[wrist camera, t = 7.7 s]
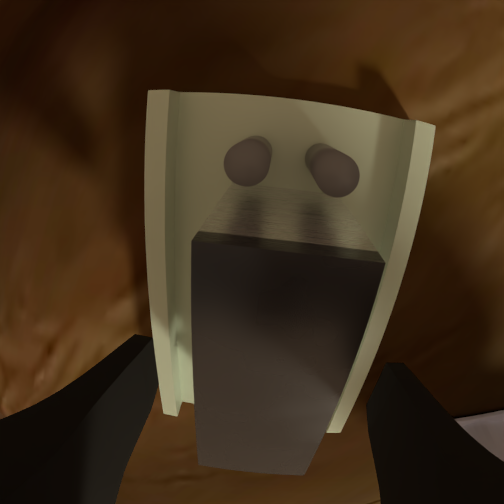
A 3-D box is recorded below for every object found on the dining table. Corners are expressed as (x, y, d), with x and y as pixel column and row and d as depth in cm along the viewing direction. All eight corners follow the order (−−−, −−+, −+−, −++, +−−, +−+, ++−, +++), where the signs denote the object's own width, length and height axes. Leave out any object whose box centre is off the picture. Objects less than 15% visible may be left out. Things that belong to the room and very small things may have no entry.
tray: (412, 123, 11) (469, 130, 7) (336, 404, 18) (343, 465, 14) (168, 93, 12) (117, 85, 7) (173, 387, 18) (152, 444, 14)
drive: (337, 195, 12) (385, 263, 6) (300, 372, 15) (304, 475, 10) (232, 182, 12) (191, 241, 6) (221, 364, 16) (198, 464, 10)
